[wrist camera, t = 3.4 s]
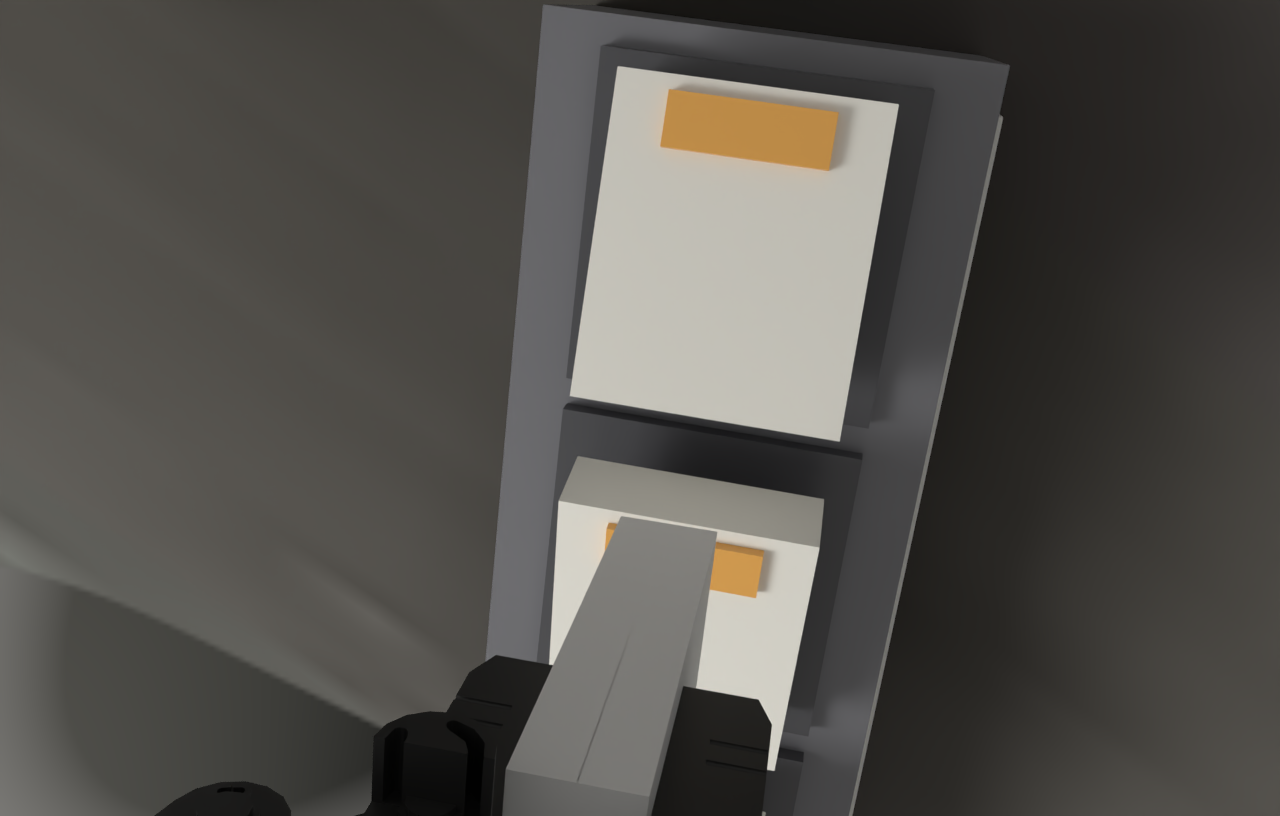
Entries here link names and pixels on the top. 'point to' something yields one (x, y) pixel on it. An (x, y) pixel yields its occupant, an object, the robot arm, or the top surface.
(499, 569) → the power strip
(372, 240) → the top surface
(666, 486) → the rocker
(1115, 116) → the top surface
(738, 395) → the rocker
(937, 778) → the top surface
